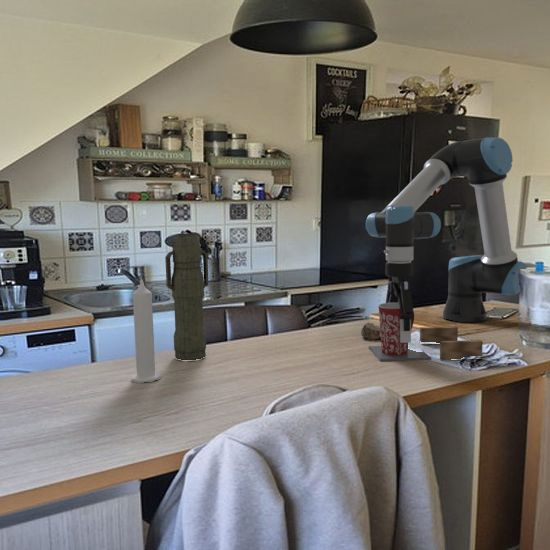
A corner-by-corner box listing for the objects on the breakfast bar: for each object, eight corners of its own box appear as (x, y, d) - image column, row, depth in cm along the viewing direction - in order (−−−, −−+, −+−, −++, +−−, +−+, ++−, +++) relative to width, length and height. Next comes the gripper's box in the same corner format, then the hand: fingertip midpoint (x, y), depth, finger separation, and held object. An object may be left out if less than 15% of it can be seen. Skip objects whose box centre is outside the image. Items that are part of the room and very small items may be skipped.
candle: (130, 376, 140) (125, 278, 137) (158, 373, 142) (153, 276, 139) (133, 384, 133) (128, 282, 130) (163, 381, 136) (158, 280, 133)
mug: (396, 358, 150) (396, 309, 148) (371, 352, 157) (371, 305, 155) (426, 350, 157) (426, 303, 156) (401, 344, 165) (401, 299, 163)
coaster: (415, 346, 164) (415, 344, 164) (430, 359, 150) (431, 357, 150) (368, 348, 164) (368, 346, 164) (380, 361, 150) (380, 359, 150)
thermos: (164, 357, 157) (159, 234, 153) (202, 351, 164) (197, 232, 160) (177, 364, 150) (172, 235, 146) (216, 357, 157) (212, 233, 152)
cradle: (455, 342, 169) (455, 326, 168) (482, 359, 150) (482, 341, 149) (419, 343, 168) (420, 327, 167) (442, 360, 149) (442, 342, 148)
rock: (363, 341, 173) (395, 335, 172) (359, 323, 174) (390, 317, 173) (362, 342, 181) (392, 336, 181) (358, 324, 182) (388, 318, 181)
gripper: (375, 258, 166) (375, 327, 169) (398, 266, 141) (397, 347, 144) (400, 257, 166) (399, 326, 169) (427, 265, 142) (426, 347, 144)
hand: (398, 336), depth 156 cm, fingers open, 13 cm apart
